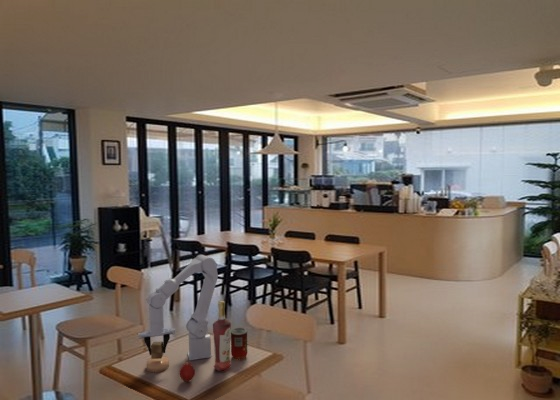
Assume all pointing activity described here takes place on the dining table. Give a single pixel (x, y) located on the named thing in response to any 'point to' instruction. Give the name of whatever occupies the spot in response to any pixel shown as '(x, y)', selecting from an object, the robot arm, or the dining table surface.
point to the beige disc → (157, 364)
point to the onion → (187, 372)
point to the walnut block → (157, 350)
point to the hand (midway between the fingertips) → (157, 353)
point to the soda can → (239, 343)
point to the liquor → (222, 340)
